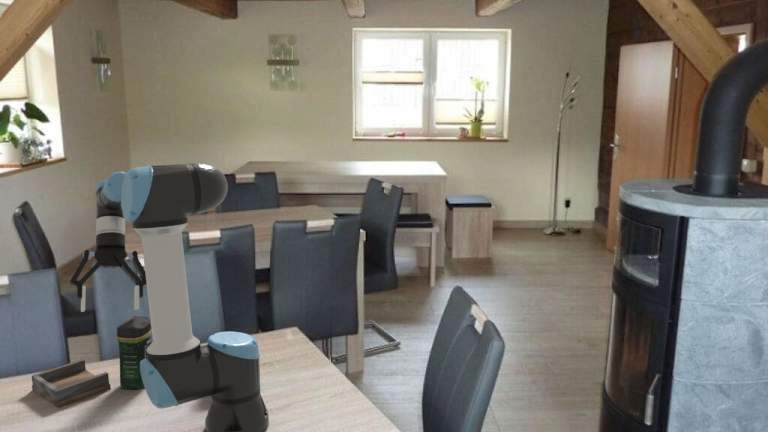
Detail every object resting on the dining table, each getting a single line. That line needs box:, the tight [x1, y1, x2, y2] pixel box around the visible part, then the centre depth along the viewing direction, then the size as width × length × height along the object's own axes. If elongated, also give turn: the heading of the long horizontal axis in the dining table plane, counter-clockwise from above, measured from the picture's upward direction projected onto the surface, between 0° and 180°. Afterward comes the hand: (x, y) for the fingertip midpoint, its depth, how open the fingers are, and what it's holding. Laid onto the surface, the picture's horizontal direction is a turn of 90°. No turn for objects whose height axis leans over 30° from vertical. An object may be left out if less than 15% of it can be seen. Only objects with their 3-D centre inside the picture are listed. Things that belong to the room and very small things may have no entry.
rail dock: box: [31, 358, 112, 409], centre depth 176 cm, size 16×14×4 cm
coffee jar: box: [116, 315, 152, 390], centre depth 179 cm, size 10×8×19 cm
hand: (110, 310), depth 175 cm, fingers open, 13 cm apart
